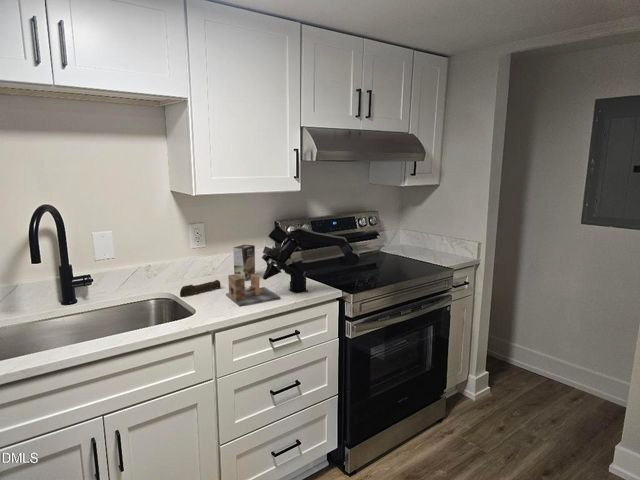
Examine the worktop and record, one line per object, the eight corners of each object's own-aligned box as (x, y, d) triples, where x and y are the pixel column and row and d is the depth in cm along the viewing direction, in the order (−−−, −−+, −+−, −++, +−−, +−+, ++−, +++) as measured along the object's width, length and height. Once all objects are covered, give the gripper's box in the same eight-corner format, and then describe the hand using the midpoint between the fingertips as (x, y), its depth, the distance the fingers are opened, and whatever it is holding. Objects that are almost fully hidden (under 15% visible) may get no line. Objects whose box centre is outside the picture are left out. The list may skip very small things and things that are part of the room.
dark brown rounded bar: (216, 287, 196) (216, 277, 195) (221, 289, 193) (220, 279, 192) (177, 296, 183) (176, 286, 182) (181, 298, 180) (181, 288, 179)
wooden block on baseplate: (264, 289, 192) (264, 267, 190) (280, 299, 179) (279, 276, 177) (226, 295, 183) (225, 273, 181) (239, 306, 170) (238, 282, 168)
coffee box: (244, 281, 204) (243, 248, 201) (233, 279, 207) (232, 247, 204) (255, 276, 212) (254, 245, 209) (245, 275, 215) (244, 244, 212)
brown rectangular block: (255, 291, 184) (254, 273, 182) (259, 294, 180) (259, 276, 178) (236, 295, 180) (235, 276, 178) (240, 298, 175) (239, 279, 174)
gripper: (265, 236, 190) (242, 263, 186) (283, 243, 174) (259, 273, 171) (281, 251, 195) (259, 278, 192) (300, 259, 180) (277, 288, 176)
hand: (263, 279), depth 182 cm, fingers closed
